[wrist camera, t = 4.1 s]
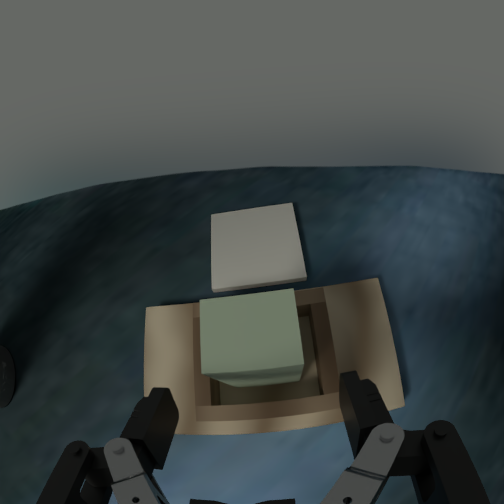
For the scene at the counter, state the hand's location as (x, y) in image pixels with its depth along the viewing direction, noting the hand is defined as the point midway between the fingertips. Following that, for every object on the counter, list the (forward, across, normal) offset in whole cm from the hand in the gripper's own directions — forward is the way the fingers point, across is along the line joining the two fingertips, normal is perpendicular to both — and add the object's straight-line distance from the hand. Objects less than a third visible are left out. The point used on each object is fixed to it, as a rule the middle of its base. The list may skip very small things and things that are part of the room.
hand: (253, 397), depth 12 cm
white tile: (+19, 0, -3) cm, 19 cm away
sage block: (+10, 0, +5) cm, 11 cm away
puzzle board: (+11, 0, +6) cm, 12 cm away
